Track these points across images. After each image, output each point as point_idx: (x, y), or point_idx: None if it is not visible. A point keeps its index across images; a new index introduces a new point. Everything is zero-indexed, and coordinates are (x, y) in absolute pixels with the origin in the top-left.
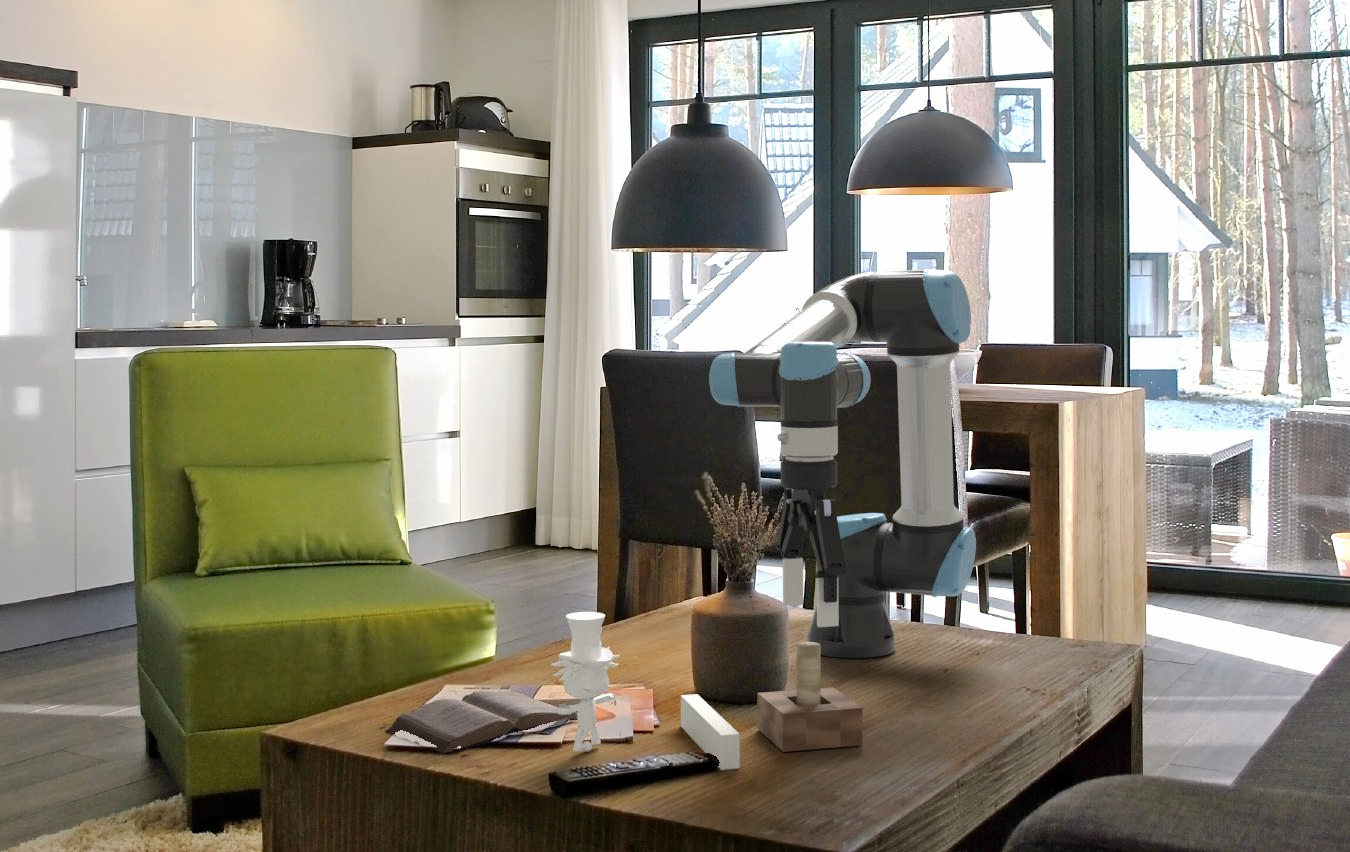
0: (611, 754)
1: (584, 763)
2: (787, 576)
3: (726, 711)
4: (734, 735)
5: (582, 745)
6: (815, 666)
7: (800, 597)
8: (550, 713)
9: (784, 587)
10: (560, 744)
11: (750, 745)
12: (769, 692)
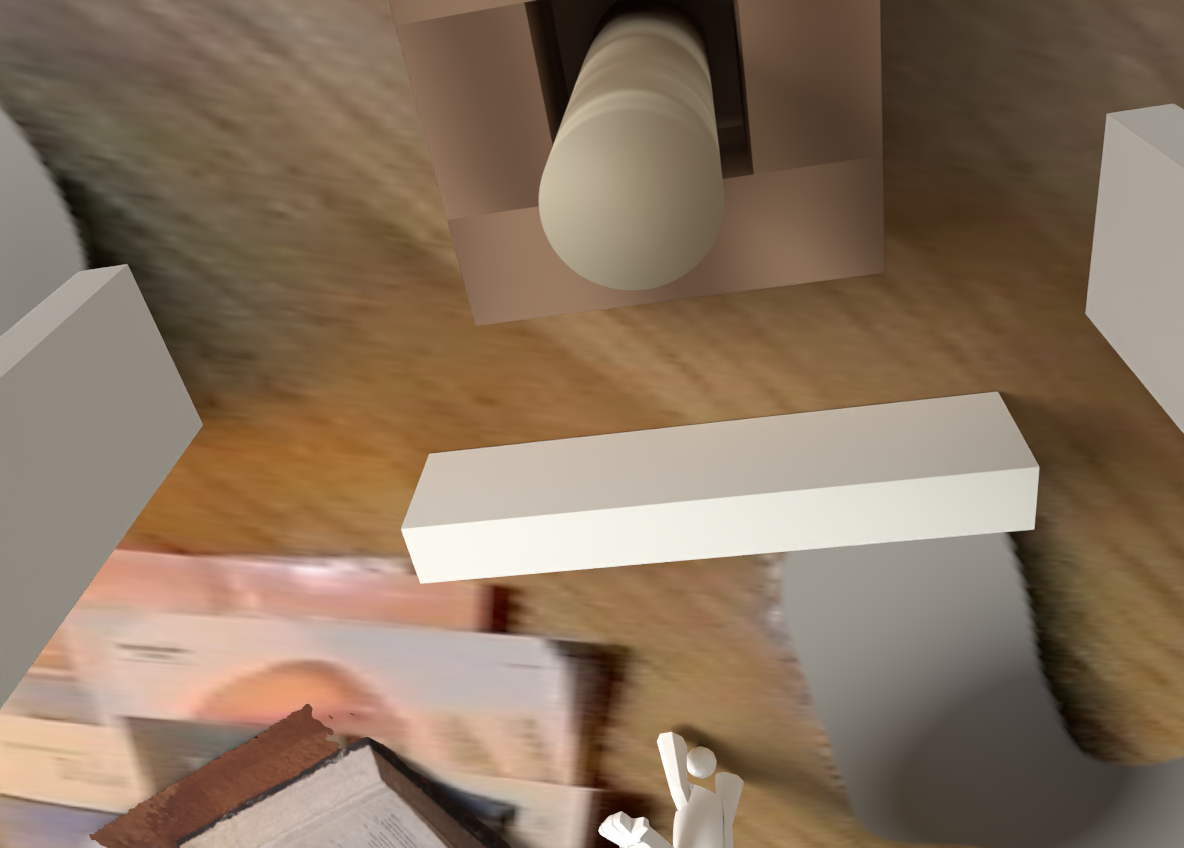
0: (736, 701)
1: (808, 760)
2: (47, 589)
3: (221, 329)
4: (1035, 481)
5: (724, 781)
6: (712, 123)
7: (103, 324)
8: (441, 838)
9: (118, 533)
10: (617, 792)
11: (712, 310)
12: (471, 269)
